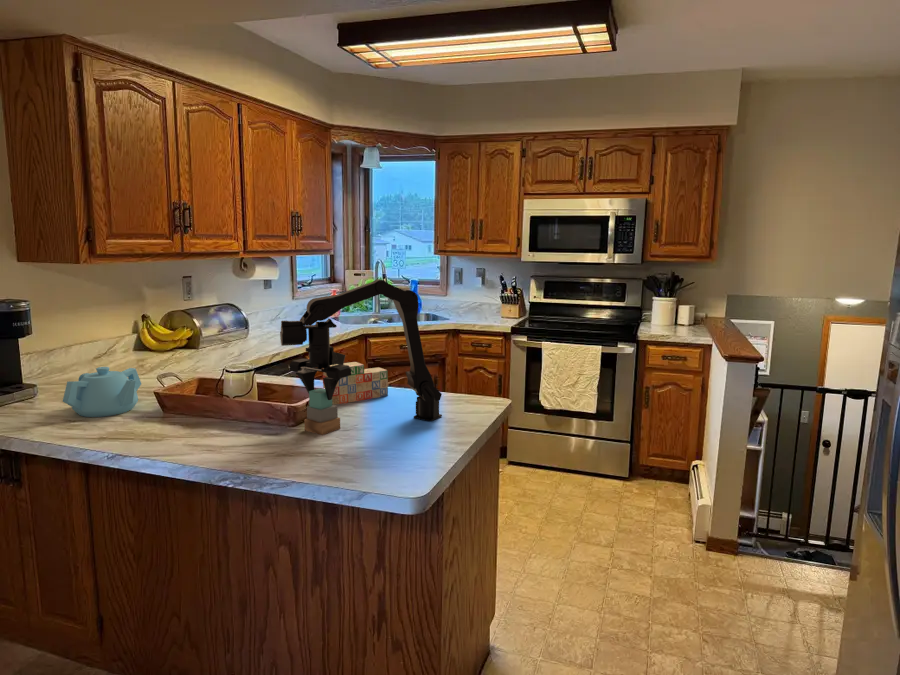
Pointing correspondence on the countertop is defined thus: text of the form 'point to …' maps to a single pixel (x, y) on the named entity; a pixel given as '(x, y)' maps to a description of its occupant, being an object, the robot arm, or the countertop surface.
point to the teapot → (103, 392)
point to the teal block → (319, 399)
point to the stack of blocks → (360, 384)
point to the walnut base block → (322, 426)
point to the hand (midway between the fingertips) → (320, 398)
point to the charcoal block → (322, 413)
